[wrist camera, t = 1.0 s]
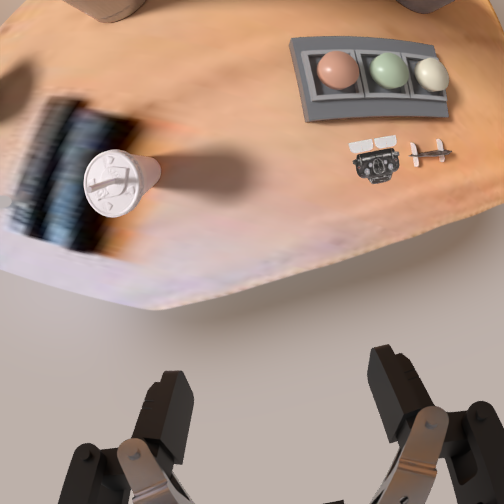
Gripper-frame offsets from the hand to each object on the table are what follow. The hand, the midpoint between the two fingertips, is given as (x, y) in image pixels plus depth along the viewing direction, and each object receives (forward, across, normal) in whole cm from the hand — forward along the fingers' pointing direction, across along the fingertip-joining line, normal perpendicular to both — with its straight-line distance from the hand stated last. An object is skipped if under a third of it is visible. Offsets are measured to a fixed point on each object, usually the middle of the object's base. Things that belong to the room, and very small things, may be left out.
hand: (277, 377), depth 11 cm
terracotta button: (+21, -10, -16) cm, 28 cm away
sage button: (+21, -16, -16) cm, 30 cm away
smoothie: (+25, +13, -8) cm, 29 cm away
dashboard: (+25, -18, -6) cm, 32 cm away
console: (+25, -16, -16) cm, 33 cm away
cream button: (+21, -22, -16) cm, 34 cm away
